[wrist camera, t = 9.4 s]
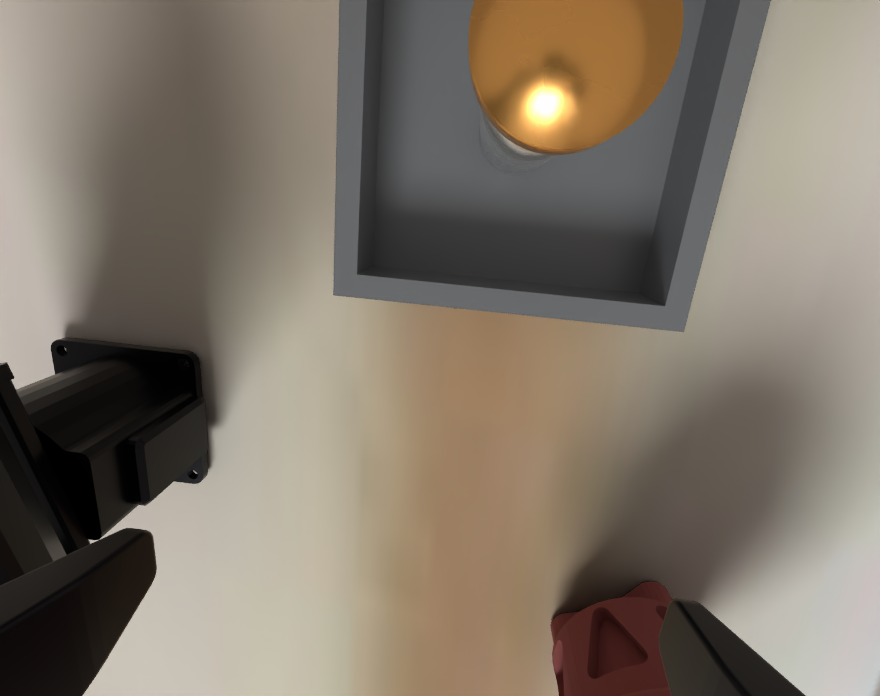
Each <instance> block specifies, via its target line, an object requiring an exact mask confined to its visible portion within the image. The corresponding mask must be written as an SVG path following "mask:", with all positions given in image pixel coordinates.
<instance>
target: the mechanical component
mask: <svg viewBox="0 0 880 696" xmlns="http://www.w3.org/2000/svg"><path fill="white" fill-rule="evenodd" d="M671 600H672V599H671V597H670V595H669V593H668V591H667V590H666V588H665V587H664V586H663V585H662V584H660V583H657V582H652V581H649V582H644V583H641V584H640V585H638V586H637V587H635V588H634V589H633V590H631V591H630V592H629V593H628V594H626V595H624V596H623V597H621V598H615V599H609V600H605V601H602V602H598V603H596V604H593V605H591V606H589V607H587V608H585V609H583V610H581V611H580V612H572V613H563V614H560V615H558V616H557V617H555V618H554V619H553V620H552V622H551V632H552V637H553V642H554V646H553V652H552V657H553V666H554V671H555V675H556V679H557V684H558V691H559V696H671V694H670V690H669V686H668V682H667V678H666V674H665V670H664V666H663V662H662V659H661V655H660V650H659V634H660V630H661V627H662V624H663V621H664V617H665V614H666V611H667V608H668V605H669V603H670V602H671Z"/></svg>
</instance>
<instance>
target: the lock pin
mask: <svg viewBox="0 0 880 696" xmlns="http://www.w3.org/2000/svg"><path fill="white" fill-rule="evenodd" d="M683 13H684V10H683V0H474V4H473V7H472V11H471V17H470V24H469V42H468V45H469V69H470V76H471V81H472V86H473V89H474V92H475V95H476V98H477V101H478V103H479V105H480V107H481V110H480V122H479V143H480V147H481V150H482V152H483V154H484V156H485V158H486V159H487V161H488V162H489V163H490V164H491V165H492V166H493V167H494V168H496V169H497V170H499V171H501V172H503V173H506V174H511V175H522V174H526V173H529V172H532V171H534V170H536V169H537V168H539V167H540V166H542V165H543V164H545V163H546V162H548V161H549V160H550V159H552V158H553V157H555V156H556V155H566V154H573V153H577V152H581V151H585V150H587V149H590V148H592V147H595V146H597V145H599V144H600V143H602V142H604V141H606V140H608V139H610V138H611V137H613V136H615V135H617V134H618V133H620V132H622V131H623V130H625V129H626V128H627V127H629V126H630V125H631V124H633V123H634V122H635V121H636V120H637V119H638V118H639V117H640V116H641V115H642V114H644V112H645V111H646V110H647V109H648V108H649V107H650V105H651V104H652V103H653V102H654V101H655V99H656V98H657V96H658V95H659V93H660V92H661V90H662V89H663V87H664V85H665V83H666V81H667V79H668V78H669V76H670V74H671V71H672V69H673V66H674V63H675V61H676V58H677V54H678V51H679V47H680V43H681V37H682V30H683Z"/></svg>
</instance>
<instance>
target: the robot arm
mask: <svg viewBox="0 0 880 696" xmlns="http://www.w3.org/2000/svg"><path fill="white" fill-rule="evenodd" d="M64 347H65V348H66V349H67V351H68V352H67V351H65V348H64ZM51 352H52V358H53V364H54V370H55V375H53V376H50V377H48V378H45V379H43V380H40V381H37V382H35V383H32V384H30V385H27V386H25V387H22V388H20V389H17V390H16V389H15V387H14V385H13V383H12V381H11V379H14V376H13V374H12V372H11V370H10V368H9V366H8V364H7V362H6V363H0V696H82V695H83V694H84V693H85V691H86V690H87V688H88V687H89V685H90V684H91V682H92V681H93V680H94V678H95V677H96V675H97V674H98V672H99V670H100V669H101V667H102V666H103V664H104V663H105V661H106V659H107V658H108V656H109V654H110V653H111V651H112V649H113V648H114V646H115V644H116V643H117V641H118V639H119V638H120V636H121V634H122V633H123V631H124V629H125V628H126V626H127V624H128V623H129V621H130V619H131V618H132V616H133V614H134V613H135V611H136V609H137V608H138V606H139V604H140V603H141V601H142V599H143V598H144V596H145V594H146V593H147V591H148V589H149V588H150V586H151V584H152V582H153V580H154V578H155V575H156V569H157V566H156V557H155V549H154V541H153V535H152V534H151V532H149V531H147V530H141V529H133V528H126V529H122V530H120V531H118V532H116V533H114V534H111V535H109V536H107V537H105V538H103V539H101V540H99V539H100V538H101V537H102V536H103V535H105V534H106V533H107V532H108V531H109V530H110V529H111V528H113V527H114V526H115V525H116V524H117V523H118V522H119V521H121V520H122V519H123V518H124V517H125V516H126V515H127V514H129V513H130V512H131V511H132V510H133V509H134V508H135V507H137V506H138V505H144V506H145V505H147V504H149V503H150V502H151V501H152V500H153V499H154V498H156V497H157V496H158V495H159V494H160V493H161V492H162V491H163V490H164V489H166V488H167V487H168V486H169V485H170V484H171V483H172V482H173V481H176V482H184V483H192V484H196V483H199V482H201V481H202V480H203V479H204V478H205V477H206V476H207V473H208V466H207V451H208V438H207V424H206V410H205V402H204V400H203V397H202V383H201V369H200V361H199V358H198V357H197V355H196V354H194V353H193V352H190V351H184V350H175V349H166V348H157V347H148V346H139V345H131V344H122V343H113V342H104V341H95V340H86V339H77V338H62V339H59V340H56V341H54V342H53V343H52V345H51ZM183 360H186V361H187V362H188V363H189V367H188V366H186V365H185V364H184V361H183ZM193 470H195V471H196V472H197V474H195V473H194V472H193ZM88 539H90V540H98V541H96V542H94V543H92V544H90V542H89V540H88ZM659 650H660V655H661V659H662V662H663V666H664V670H665V674H666V678H667V682H668V686H669V690H670V694H671V696H805V695H804V694H803V693H802V692H801V691H800V690H798V689H797V688H796V687H795V686H794V685H793V684H792V683H790V682H789V681H788V680H787V679H786V678H785V677H784V676H783V675H781V674H780V673H779V672H778V671H777V670H776V669H775V668H773V667H772V666H771V665H770V664H769V663H768V662H767V661H765V660H764V659H763V658H762V657H761V656H760V655H759V654H757V653H756V652H755V651H754V650H753V649H752V648H751V647H749V646H748V645H747V644H746V643H745V642H744V641H743V640H741V639H740V638H739V637H738V636H737V635H736V634H735V633H733V632H732V631H731V630H730V629H729V628H728V627H727V626H725V625H724V624H723V623H722V622H721V621H720V620H719V619H717V618H716V617H715V616H714V615H713V614H712V613H711V612H709V611H708V610H707V609H706V608H705V607H704V606H702V605H701V604H700V603H698V602H695V601H689V600H681V599H673V600H671V602H670V603H669V605H668V608H667V611H666V614H665V617H664V621H663V624H662V627H661V630H660V634H659Z"/></svg>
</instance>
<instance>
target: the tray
mask: <svg viewBox="0 0 880 696" xmlns="http://www.w3.org/2000/svg"><path fill="white" fill-rule="evenodd" d="M770 1H771V0H683V10H684V13H683V30H682V37H681V43H680V47H679V51H678V54H677V58H676V61H675V63H674V66H673V69H672V71H671V74H670V76H669V78H668V79H667V81H666V83H665V85H664V87H663V89H662V90H661V92H660V93H659V95H658V96H657V98H656V99H655V101H654V102H653V103H652V104H651V105H650V107H649V108H648V109H647V110H646V111H645V112H644V114H642V115H641V116H640V117H639V118H638V119H637V120H636V121H635V122H634V123H633V124H631V125H630V126H629V127H627V128H626V129H625V130H623V131H622V132H620V133H618V134H617V135H615V136H613V137H611V138H610V139H608V140H606V141H604V142H602V143H600V144H599V145H597V146H595V147H592V148H590V149H587V150H585V151H581V152H577V153H573V154H566V155H556V156H555V157H553V158H552V159H550V160H549V161H548V162H546V163H545V164H543V165H542V166H540V167H539V168H537V169H536V170H534V171H532V172H529V173H526V174H522V175H511V174H506V173H503V172H501V171H499V170H497V169H496V168H494V167H493V166H492V165H491V164H490V163H489V162H488V161H487V159H486V158H485V156H484V154H483V152H482V150H481V147H480V143H479V122H480V110H481V107H480V105H479V103H478V101H477V98H476V95H475V92H474V89H473V86H472V81H471V76H470V69H469V45H468V42H469V24H470V17H471V11H472V7H473V4H474V0H340V4H339V52H338V100H337V147H336V195H335V243H334V291H333V295H336V296H346V297H355V298H365V299H374V300H384V301H393V302H403V303H413V304H422V305H432V306H441V307H451V308H460V309H470V310H479V311H489V312H498V313H508V314H517V315H527V316H536V317H546V318H555V319H565V320H574V321H584V322H594V323H603V324H613V325H622V326H632V327H641V328H651V329H660V330H670V331H679V332H684V329H685V325H686V321H687V317H688V313H689V310H690V306H691V302H692V298H693V294H694V290H695V287H696V283H697V279H698V275H699V271H700V268H701V264H702V260H703V256H704V252H705V249H706V245H707V241H708V237H709V233H710V230H711V226H712V222H713V218H714V214H715V211H716V207H717V203H718V199H719V195H720V192H721V188H722V184H723V180H724V176H725V173H726V169H727V165H728V161H729V157H730V153H731V150H732V146H733V142H734V138H735V134H736V131H737V127H738V123H739V119H740V115H741V112H742V108H743V104H744V100H745V96H746V93H747V89H748V85H749V81H750V77H751V74H752V70H753V66H754V62H755V58H756V55H757V51H758V47H759V43H760V39H761V35H762V32H763V28H764V24H765V20H766V16H767V13H768V9H769V5H770Z"/></svg>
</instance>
